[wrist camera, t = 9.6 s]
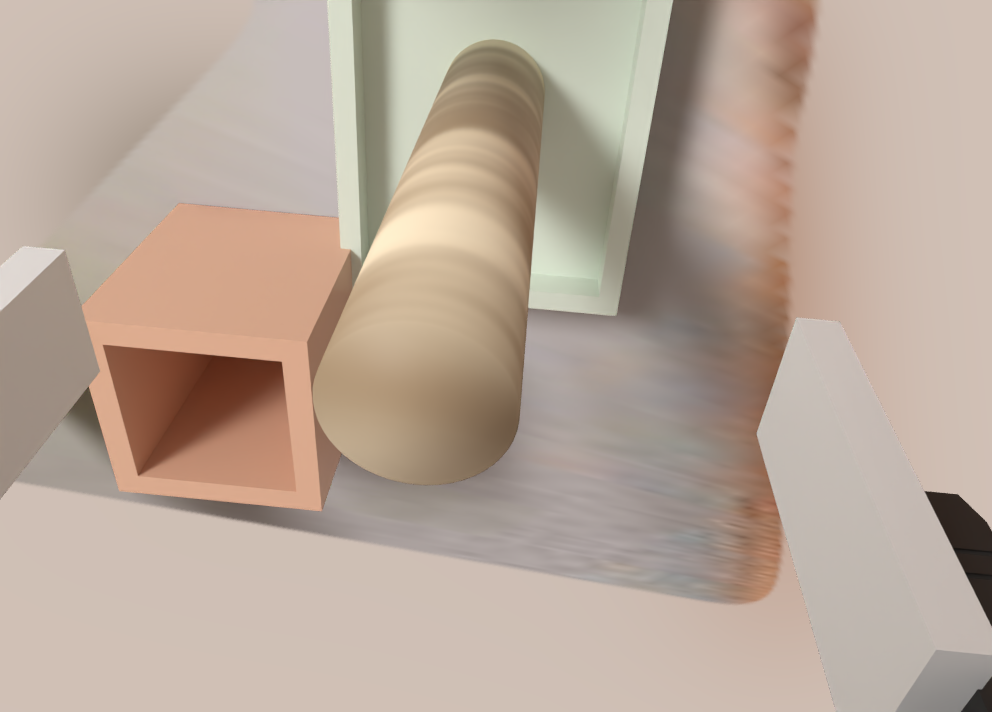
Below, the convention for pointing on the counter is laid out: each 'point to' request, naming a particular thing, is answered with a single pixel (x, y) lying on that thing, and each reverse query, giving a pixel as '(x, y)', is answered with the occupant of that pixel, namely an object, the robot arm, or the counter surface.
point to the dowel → (445, 286)
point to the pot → (220, 356)
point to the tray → (565, 130)
